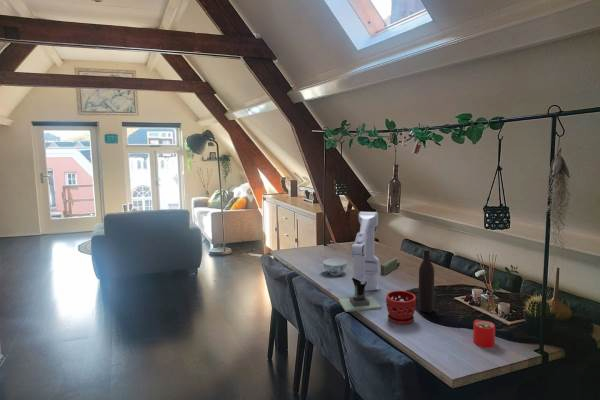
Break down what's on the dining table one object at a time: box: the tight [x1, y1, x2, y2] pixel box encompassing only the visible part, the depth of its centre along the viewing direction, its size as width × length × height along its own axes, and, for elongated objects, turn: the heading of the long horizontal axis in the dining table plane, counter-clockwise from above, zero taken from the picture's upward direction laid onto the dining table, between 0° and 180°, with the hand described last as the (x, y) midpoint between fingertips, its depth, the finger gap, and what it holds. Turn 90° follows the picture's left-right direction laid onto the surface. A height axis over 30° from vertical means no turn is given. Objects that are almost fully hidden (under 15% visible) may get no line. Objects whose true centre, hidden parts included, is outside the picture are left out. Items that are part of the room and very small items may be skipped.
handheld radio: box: [380, 256, 401, 276], centre depth 264 cm, size 7×3×25 cm
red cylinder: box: [472, 319, 496, 349], centre depth 169 cm, size 8×12×8 cm, turn 6°
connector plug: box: [354, 286, 366, 298], centre depth 209 cm, size 4×4×6 cm
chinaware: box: [322, 258, 348, 276], centre depth 260 cm, size 15×15×8 cm
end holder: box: [338, 296, 382, 313], centre depth 210 cm, size 14×18×3 cm
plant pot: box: [385, 290, 417, 325], centre depth 189 cm, size 13×13×12 cm
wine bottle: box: [418, 248, 435, 313], centre depth 198 cm, size 7×7×30 cm
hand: (359, 293), depth 209 cm, fingers closed on connector plug, 4 cm apart
